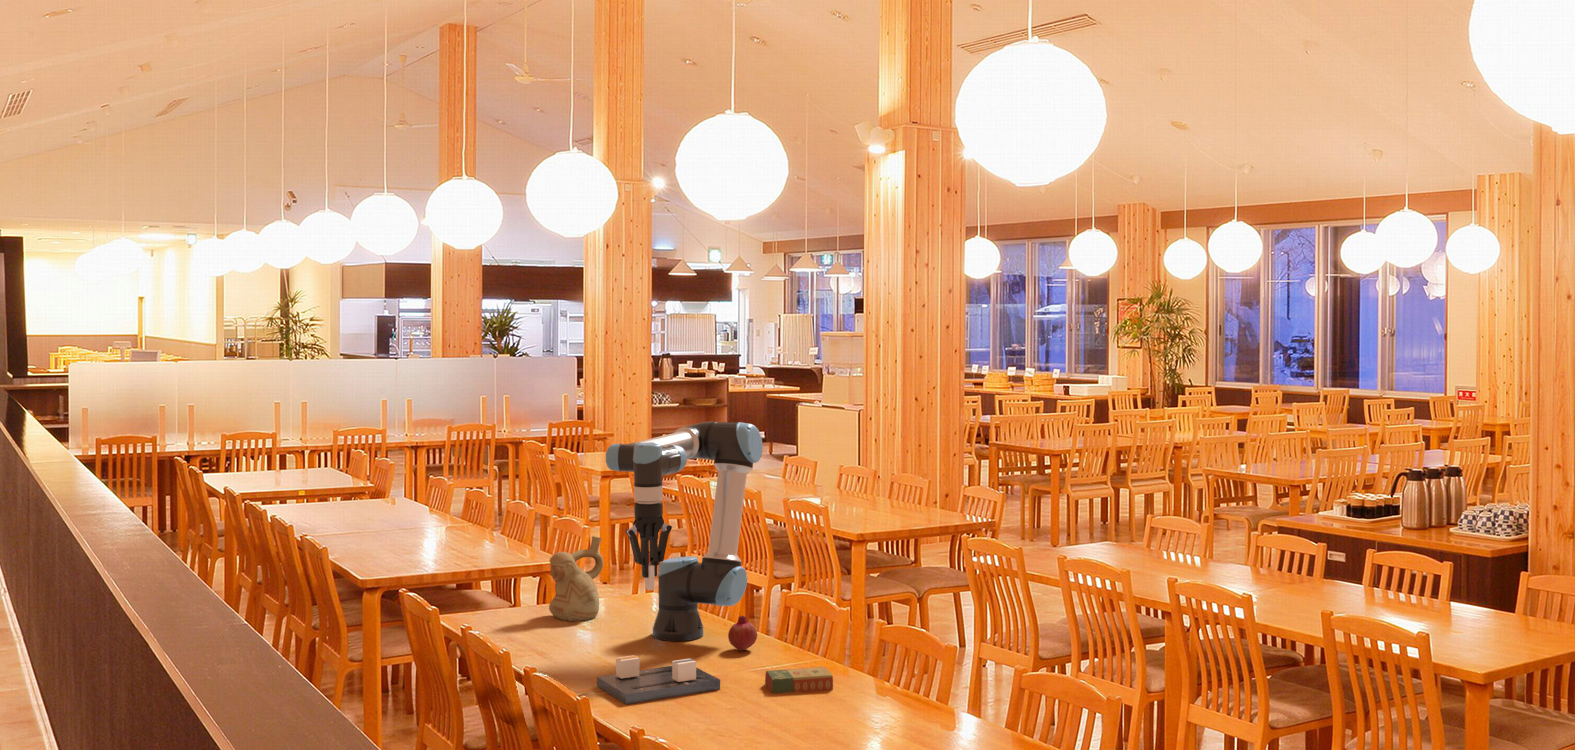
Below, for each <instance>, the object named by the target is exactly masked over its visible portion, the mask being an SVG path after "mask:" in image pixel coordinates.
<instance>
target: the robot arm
mask: <svg viewBox="0 0 1575 750" xmlns="http://www.w3.org/2000/svg"><path fill="white" fill-rule="evenodd" d="M763 447H764V446H763V440H762V436H761V433H760V430H759V428H757V427H756V425H754V424H752V423H748V422H747V423H745V422H741V421H739V422H735V421H703V422H698V423H694V424H690V425H687V426H683V427H679V428H677V429H676V430H675V431H674V432H672V433H669V434H668V433H667V434H664V435H659V436H657V437H652V438H648V439H644V440H640V441H636V442H632V443H624V444H623V443H613V444H610V445H609V446H608V447H607V449H606V452H605V464H606V466H607V467H608V469H609V470H611V471H615V472H616V471H617V472H619V473H621V472H625V473H626V472H627V473H629V472H631V473H633V480H634V482H633V490H634V491H633V500H634V501H635V502H634V505H633V506H634V507H633V509H634V511H633V512H634V521H633V522H632V523H633V524H632V526H631V527H630V528H626V529H625V534H626V535H627V536H628V539H629V542H630V543H629V544H630V546H631V547H630V548H631V550H632V555H633V558H634V562H635V564H638V565H641V576H642V577H643V579H644V589H645V590H648V591H655V584H656V583H655V578H656V577H658V610H657V614H656V616H655V620H654V623H653V626H652V637H653V638H655V639H657V640H661V641H669V642H680V641H681V642H684V641H685V642H686V641H692V640H697V639H700V638H702V637H704V625H703V622H702V619H701V615H700V613H699V610H698V609H699V606H698V605H699V604H703V605H713V606H717V607H718V606H719V607H734V606H736V605H737V604H738V603H739V602H740V601H741V599H742V598H743V596H744V595H745V592H746V588H747V585H748V576H747V570H746V568H744V567H743V566H742V560H741V558H740V557H739V556H738V551H739V543H740V534H741V527H742V526H741V525H742V517H743V511H744V510H743V508H744V501H745V492H746V484H747V476H748V474H749V473H751V471H753V469H754V468H753V467H754V464H756V463H759V461H760V460H761V458H762V455H763ZM690 459H698V460H700V459H701V460H709V461H714V462H713V466H714V468H716V470H717V478H716V486H715V493H714V503H713V511H712V517H711V518H712V520H711V526H710V537H709V543H708V550H707V552H706V553H705V554H704V555H703V556H702V558H701V562H699V560H698V559H699V558H698V557H697V556H692V555H690V556H679V557H673V558H667V559H665V555H666V550H667V544H668V541H669V540H668V539H669V535H670V533H671V531H672V529H673V526H672V525H670V524H667V523H665V520H664V518H663V515H664V506H663V505H664V503H663V502H662V500H663V499H664V498H663V497H664V495H663V492H664V491H663V476H667V475H672V474H673V475H674V474H676V473H678V472H681V471H682V470H683V469H684V468H685V467H686V466H687V462H688V460H690ZM660 530H661V531H660ZM637 533H638V534H639V539H638V536H637ZM659 533H660V534H659ZM639 540H640V544H639Z"/></svg>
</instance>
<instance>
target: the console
mask: <svg viewBox="0 0 1575 750" xmlns="http://www.w3.org/2000/svg"><path fill="white" fill-rule="evenodd" d="M596 687H597V688H599V689H600V690H602V691H604V692H605V693H607V694H608V695H610V696H612V697H613V698H615V699H616V700H618V701H620V703H623V704H625V705H632V704H637V703H643V702H644V703H645V702H649V701H650V702H651V701H657V700H663V699H670V698H674V697H675V698H676V697H682V696H687V695H694V694H700V693H705V692H706V693H707V692H712V691H718V690H721V679H719V678H718V677H716V676H714V675H712V674H710V673H708V672H706V671H704V670H702V669H701V668H698V667H696V679H694V680H688V681H682V682H677V681H676V680H674V679H672V665H668V666H661V667H654V668H648V669H639V676H635V677H629V678H622V679H621V678H620V677H618V676H616V673H615V674H608V675H607V674H606V675H602V676H600V675H599V676H596Z"/></svg>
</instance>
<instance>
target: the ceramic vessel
mask: <svg viewBox="0 0 1575 750" xmlns="http://www.w3.org/2000/svg"><path fill="white" fill-rule="evenodd" d="M601 543H602V537H598V536H595V535H594V536H593V535H592V536H591V542H590V547H589V549H588V548H587V549H580V550H576V551H575V552H572V553H569V552H567V551H559V552H556V553H553V555H552V556H551V557H550V558H549V563H550V572H549V574H550V576H552V579H553V580H554V581H555V585H554V588H555V590H554V591H555V595H554V598H552V599H551V601H550V603H549V606H548V609H549V612H550V613H551V614H552V616H553V617H555V618H557V619H559V620H563V621H567V620H568V621H569V622H577V621H578V622H579V621H587V620H592V619H594V618H596V617H597V616H598V614H599V610H600V597H599V591H598V588H597V587H598V586H597V585H596V582H595V581H594V579H595V578H597V577H598V576H599V575H600V573H601V572H602V570H603V568H604V558H603V555H602V554H601V553H600V552H599V549H600V544H601ZM582 558H592V559H593V560H594V567H593V568H591V569H590V570H589V571H584V569H582V568H581V567H580V566H579V565H578V564H577V563H576V562H577V561H579V560H580V559H582Z"/></svg>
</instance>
